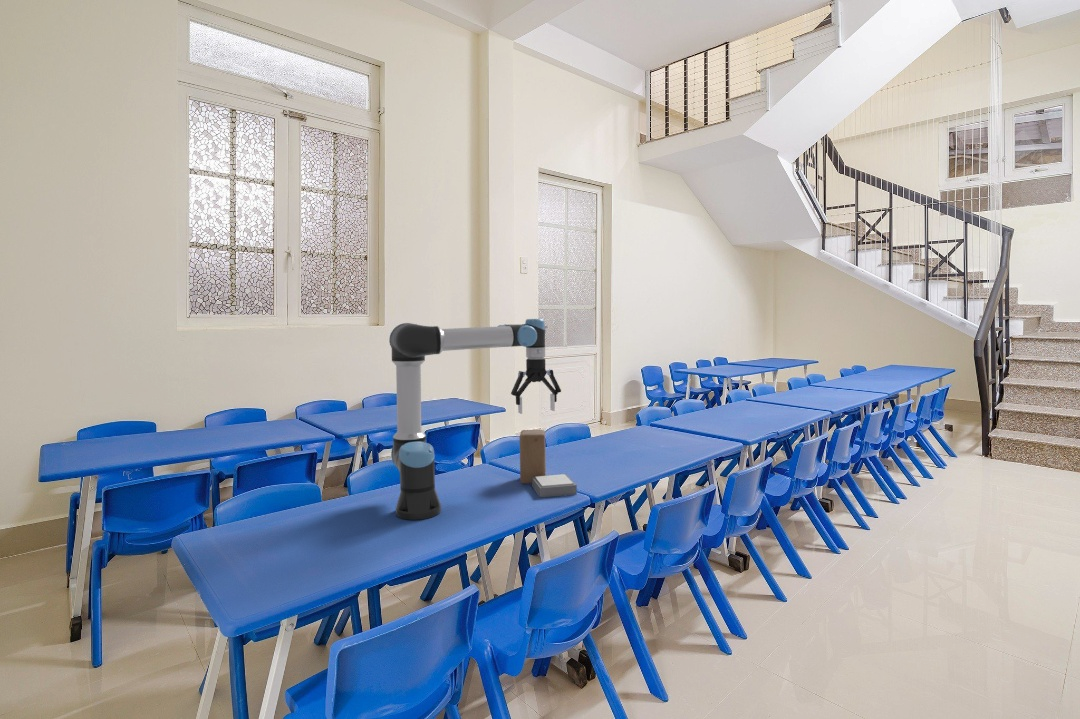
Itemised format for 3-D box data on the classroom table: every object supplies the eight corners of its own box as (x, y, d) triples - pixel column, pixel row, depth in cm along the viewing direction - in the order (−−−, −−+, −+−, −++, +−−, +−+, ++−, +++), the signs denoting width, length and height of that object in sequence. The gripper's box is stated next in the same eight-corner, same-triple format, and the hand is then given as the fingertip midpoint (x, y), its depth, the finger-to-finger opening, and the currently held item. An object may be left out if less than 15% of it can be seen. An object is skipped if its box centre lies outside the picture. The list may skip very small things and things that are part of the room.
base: (540, 497, 211) (540, 486, 211) (532, 486, 225) (532, 476, 225) (576, 494, 214) (576, 483, 214) (566, 483, 228) (566, 473, 228)
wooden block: (545, 484, 227) (544, 434, 225) (520, 484, 227) (519, 434, 226) (545, 476, 237) (545, 429, 235) (521, 477, 237) (520, 429, 235)
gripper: (508, 360, 217) (509, 415, 219) (568, 357, 226) (569, 410, 227) (502, 358, 224) (503, 412, 226) (561, 356, 233) (562, 407, 234)
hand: (536, 411), depth 227 cm, fingers open, 13 cm apart
